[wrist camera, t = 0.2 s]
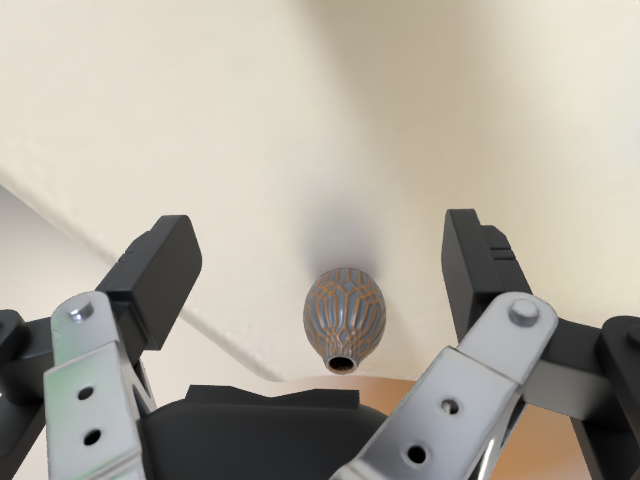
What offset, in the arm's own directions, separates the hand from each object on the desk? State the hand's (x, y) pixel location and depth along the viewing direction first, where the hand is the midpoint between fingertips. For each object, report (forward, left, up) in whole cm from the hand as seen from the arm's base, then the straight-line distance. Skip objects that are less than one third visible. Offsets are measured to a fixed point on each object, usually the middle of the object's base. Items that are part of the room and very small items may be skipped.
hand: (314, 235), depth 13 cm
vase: (+18, -1, -18) cm, 25 cm away
